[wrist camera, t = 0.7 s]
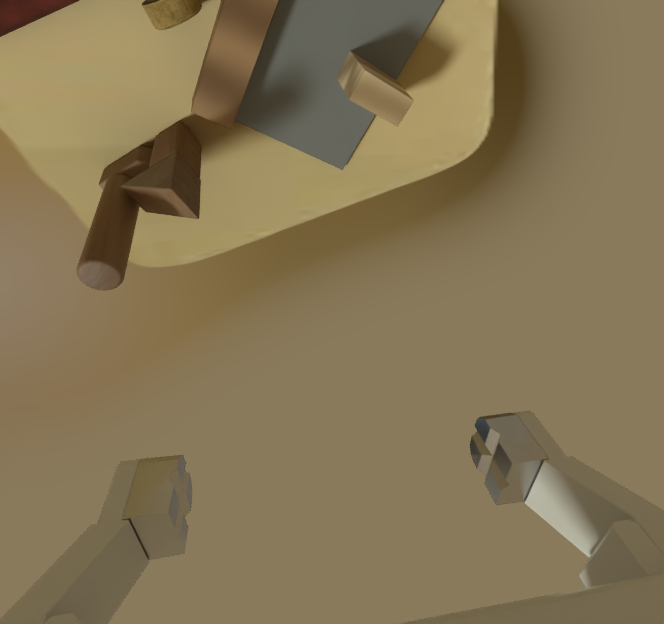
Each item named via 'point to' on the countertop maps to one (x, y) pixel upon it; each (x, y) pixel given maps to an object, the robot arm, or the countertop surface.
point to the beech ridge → (374, 89)
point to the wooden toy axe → (140, 201)
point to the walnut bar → (231, 58)
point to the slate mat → (326, 69)
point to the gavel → (34, 3)
